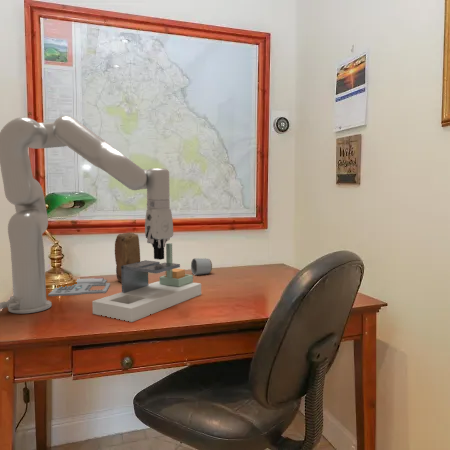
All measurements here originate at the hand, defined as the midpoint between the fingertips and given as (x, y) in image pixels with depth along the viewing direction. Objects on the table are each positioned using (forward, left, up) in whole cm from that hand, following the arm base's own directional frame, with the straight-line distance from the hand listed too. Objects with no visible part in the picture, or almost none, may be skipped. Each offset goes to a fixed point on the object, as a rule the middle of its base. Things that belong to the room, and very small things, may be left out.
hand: (159, 258), depth 140 cm
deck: (-4, 0, -14) cm, 15 cm away
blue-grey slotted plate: (0, +38, -15) cm, 41 cm away
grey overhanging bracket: (-4, 0, -10) cm, 11 cm away
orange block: (+9, 0, -10) cm, 14 cm away
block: (+16, +30, -15) cm, 37 cm away
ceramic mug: (+44, +13, -15) cm, 48 cm away
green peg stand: (+9, 0, -10) cm, 14 cm away
